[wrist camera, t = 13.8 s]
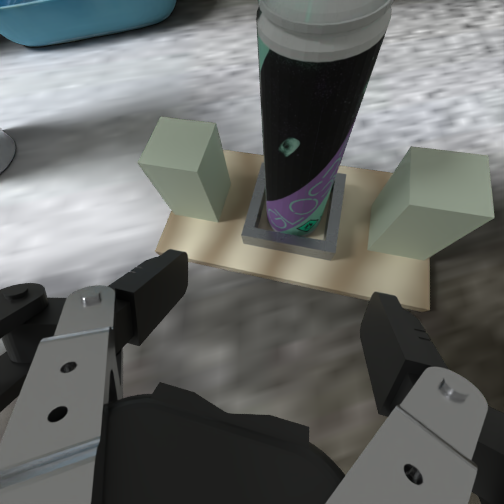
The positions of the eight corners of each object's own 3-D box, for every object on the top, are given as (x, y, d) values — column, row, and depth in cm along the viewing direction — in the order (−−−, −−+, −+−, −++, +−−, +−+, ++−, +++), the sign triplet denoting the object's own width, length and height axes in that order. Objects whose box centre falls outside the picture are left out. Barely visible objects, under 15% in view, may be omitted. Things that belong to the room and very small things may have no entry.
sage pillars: (174, 214, 27) (137, 162, 20) (189, 177, 29) (160, 116, 21) (423, 260, 23) (494, 217, 16) (424, 213, 25) (488, 155, 17)
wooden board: (159, 255, 27) (154, 251, 26) (200, 153, 32) (197, 146, 30) (422, 312, 23) (429, 310, 22) (423, 184, 27) (429, 177, 26)
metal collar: (243, 243, 25) (241, 235, 23) (262, 174, 28) (261, 162, 26) (330, 260, 24) (335, 253, 22) (341, 186, 27) (346, 174, 25)
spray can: (274, 245, 25) (275, -68, 6) (261, 199, 27) (233, -135, 8) (328, 232, 25) (482, -116, 6) (310, 187, 27) (390, -170, 9)
